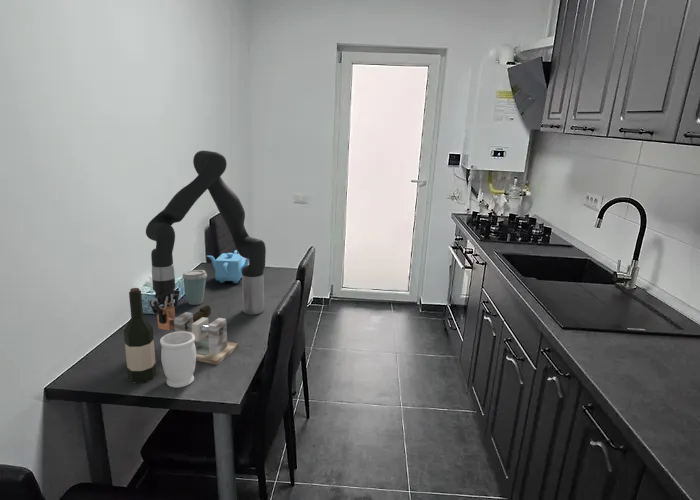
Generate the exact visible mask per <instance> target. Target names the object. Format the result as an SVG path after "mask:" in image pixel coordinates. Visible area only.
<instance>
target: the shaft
mask: <svg viewBox="0 0 700 500" xmlns="http://www.w3.org/2000/svg"><path fill="white" fill-rule="evenodd" d="M175 307H176V306H175ZM175 307H172V306H167V308H166V309H165V317H166V323H165V324H161V323H160V322H159V315H158V314H156V317H157V329H159V330H164V331H169V332H170V331H172V330H173V329H174V318H176V311H175V309H176V308H175ZM161 311H162V308H161ZM192 324H193V323H189V322H186V323H185V328H188V329H192ZM201 331H204V332H208V326H206V325H203V326H202V327H201Z"/></svg>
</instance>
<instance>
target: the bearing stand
mask: <svg viewBox="0 0 700 500" xmlns="http://www.w3.org/2000/svg"><path fill="white" fill-rule="evenodd" d="M193 314H194V313H193V312H188V311H185V312H184V313H181V314H180V315H178V316H175V318H174V328H173V329H174V332H179V331H186V332H191V333H192V329H188V328H185V323H186V322H189V323H193ZM227 326H228V325H227V318H224V317H223V318H222V317H218V318H216V319H215V320H214V321H212V322H210V323H209V325H208V335H207V336H206V337H205V338H203V339H202V340H200V341H199V342H198V341H194V344H195V348H196V362H197V361H198V362H201V363H206V364H210V365H214V366H215V365H216V366H217V365H219V364H220V363H222V362H223V361H224V360H226V358H227V357H228V356H229V357H230V355H231V354H232V353H234V351H236V350H237V349H238V348H239V347H240V346H239V343H238V342H237V343H236V342H232V341H228V333H227V332H228V330H227V329H228V328H227Z"/></svg>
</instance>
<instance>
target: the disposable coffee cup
mask: <svg viewBox="0 0 700 500" xmlns="http://www.w3.org/2000/svg"><path fill="white" fill-rule="evenodd" d="M207 277H208V274H207V272H206V270H204V269H194V270H193V269H192V270H191V269H190V270H188V271H185V272H183V273H182V278H183V283H184V289H185V293H186V299H187V303H188V304H189V305H193V306H197V305H202V303H203V302H204V297H205V291H206V284H207V283H206V281H207Z"/></svg>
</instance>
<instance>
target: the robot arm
mask: <svg viewBox="0 0 700 500" xmlns="http://www.w3.org/2000/svg"><path fill="white" fill-rule="evenodd" d="M192 161H193V162H192V163H193V167H194V170H195V172H196V173H197V176H196V177H195V178H194V179H193V180H192V181H191V182H189V183H188V184H187V185H185V186H183V187H182V189H180V190H179V191H177V192H176V194H174V195H173V197H172V198H171V200H169V202H168V203H167V205H166V206H165V207H164V209H162V210H161V211H160V212H159V213H157V215H155V216H154V217H153V218H152V219H151V220H150V221H149V222H148V224H147V225H146V227H145V235H146V237H147V238H148V239H150V240H151V241H153V242H155V248H154V249H152V250H151V255H150V257H151V281H152V282H151V283H152V290H153V291H154V293H155V296H154V298H153V300H149V305H150V308H151V310H152V312H153V314H154V315H157V314H158V315H159V322H160V323H161V324H165V323H166V317H165V309H166V308H167V306H172V307H178V303H179V298H180V290H178V289H176V275H175V274H176V273H175V267H174V260H173V251H174V249H175V248H174V246H175V242H176V231H175V229H174V227H173V225H174V224H175V223H179V222H181V221H182V220H183V219H184V218H185V217H186V215H187V214H188V213H189V211H190V210H191V209H192V207H193V206H194V205H195V203H196V202H197V200H199V199H200V198H201V196H203V194H204V193H205V192H206V191H207V190H208V192H209V195H210V196H211V198H212V200H213V201H214V204H215V206H216V208H217V210H218V212H219V214H220V216H221V218H222V220H223V221H224V223H225V225H226V227H227V229H228V232H229V233H230V235H231V237H232V240H233V244H234V246H235V249H236V250H237V254H240V256H242V257H244V258H245V259H249V263H248V266H245V267H243V268H242V279H241V281H242V283H241V287H242V313H244V314H247V315H259V314H262V313H264V311H265V288H264V287H265V285H264V283H265V282H264V280H265V279H264V271H265V267H266V258H267V257H266V255H267V254H266V252H267V250H266V243H265V242H264V241H263V240H262V239H260V238H256V237H251V236H250V235H249V233H248V232H247V230H246V227H245V219H246V211H245V209H244V207H243V205H242V201H241V200H240V198H239V196H238V195H237V193H236V192H235V191H233V190H232V188H231V187H229V186H228V185H227V184H226V182H225V180H224V179H222V177H221V176H223V174H224V173H225V171H226V169H227V159H226V156H224V155H223V154H222V153H220V152H216V151H211V150H199V151H197V152H196V153H195V154H194V156H193V160H192ZM161 308H162V311H161Z"/></svg>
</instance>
